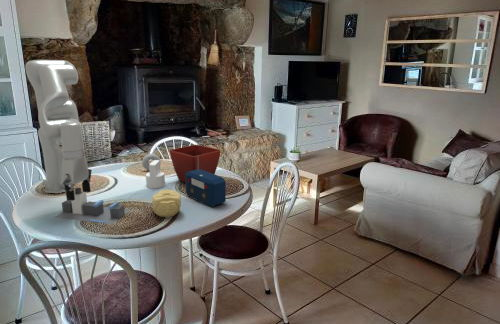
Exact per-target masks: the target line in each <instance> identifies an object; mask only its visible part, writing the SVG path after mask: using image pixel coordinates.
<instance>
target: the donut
mask: <svg viewBox="0 0 500 324" xmlns="http://www.w3.org/2000/svg"><path fill="white" fill-rule="evenodd" d="M151 160H152V161H154V160H160V161H161V158H160V157H159V156H158V155H157V154H156V153H148V154H146V155H144V157H143V158H142V161H141V162H142V166H143V168H144V169H145V170H146V171H149V165H150V164H151V163H149V162H150V161H151Z"/></svg>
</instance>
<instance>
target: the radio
mask: <svg viewBox="0 0 500 324" xmlns="http://www.w3.org/2000/svg"><path fill="white" fill-rule="evenodd" d="M185 177H186V183H185V193H186V195H187V196H188V195H189V196H191V197H193V198H195V199H197V200H196V201H197V202H200V203H201V204H204V205H206V206H208V207H214V206H217V205H220V204H223V203H225V202H226V200H227V199H226V195H227V193H226V190H227V186H226V183H227V182H226V180H225V179H224V178H223V176H220V175H217V174H216V173H215V174H212V173H209V172H206V171H204V170H201V169H199V162H198V169H197V170H193V171H189V172H187V173H185ZM189 196H188V197H189ZM191 197H190V198H191ZM193 198H192V199H193ZM195 199H194V200H195Z"/></svg>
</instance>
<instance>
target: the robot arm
mask: <svg viewBox="0 0 500 324" xmlns="http://www.w3.org/2000/svg"><path fill="white" fill-rule="evenodd" d="M24 66H25V73H26V76H27V79H28V81H29V83H30V84H31V86H32V88H33V90H34V93H35V101H36V106H37V111H38V114H37V115H38V116H37V117H38V122H39V127H38V130H37V131H38V132H37V134H38V138H39V142H40V145H41V149H42V156H43V160H44V161H43V162H44V168H45V177H46V179H43V180H42V182H41V183H40V185H43V186H45V188H44V189H43V190H44V193H45V194H48V193H60V194H63V193H62V192H65V196H66V200H75V196H74V193H75V185H76V184H80V183H81V187H82V188H81V189H82V192H86V193H90V192H91V184H90V183H91V179H92V169H90V168H89V166H88V165H89V164H88V161H87V158H86V154H85V145H84V137H83V126H82V123H81V122H80V119H79V112H78V108H77V105H76V103H75V101H74V100H72V99H69V98H70V95H69V92H68V89H67V86H69V85H70V86H71V85H76V84H78V81H79V72H78V71H77V68H76V67H75V65H74V64H72V62H70V61H68V60H63V59H33V60H29V61H27V62H26V64H25V65H24ZM66 85H67V86H66ZM60 145H61V146H62V147H61V146H60ZM73 188H74V189H73Z"/></svg>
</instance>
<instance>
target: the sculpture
mask: <svg viewBox="0 0 500 324" xmlns="http://www.w3.org/2000/svg"><path fill="white" fill-rule="evenodd" d="M181 196H182V195H181V194H180V193H179V192H177V191H175V190H174V189H162V190H158V191H157V192H156V193H155V194H153V195H152V202H151V203H152V205H151V206H152V209H153V212H154V213H155V214H156V216H158V217H161V218H169V217H173V216H176V215H177V214H178V213H179V211H180V209H181V206H182V200H181Z"/></svg>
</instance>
